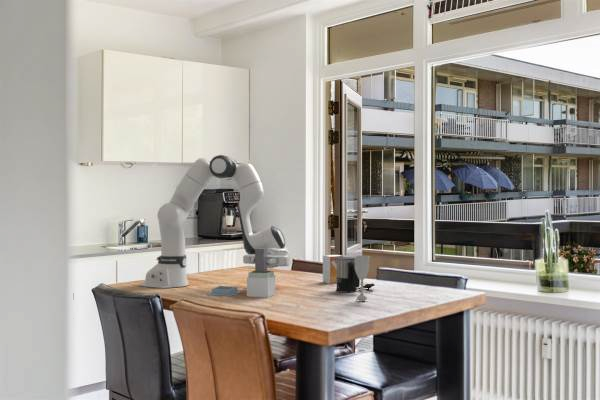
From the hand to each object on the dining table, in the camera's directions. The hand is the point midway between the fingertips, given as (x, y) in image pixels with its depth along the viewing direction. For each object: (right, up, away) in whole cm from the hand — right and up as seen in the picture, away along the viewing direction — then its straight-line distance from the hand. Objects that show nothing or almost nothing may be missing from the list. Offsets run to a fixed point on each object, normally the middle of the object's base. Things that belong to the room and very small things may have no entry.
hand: (260, 261), depth 268 cm
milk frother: (+41, -14, +12) cm, 46 cm away
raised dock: (0, -14, +1) cm, 15 cm away
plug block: (0, -6, +1) cm, 7 cm away
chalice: (+42, -15, -13) cm, 46 cm away
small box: (+33, -14, +37) cm, 52 cm away
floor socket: (-16, -14, +6) cm, 22 cm away
